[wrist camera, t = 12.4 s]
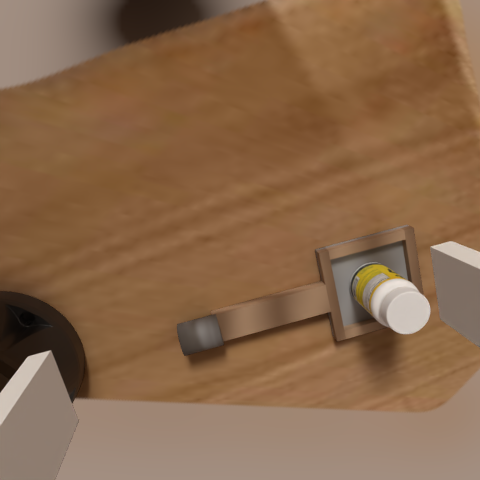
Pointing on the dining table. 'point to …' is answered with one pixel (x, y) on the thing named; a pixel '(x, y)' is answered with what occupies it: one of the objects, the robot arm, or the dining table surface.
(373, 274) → the supplement bottle
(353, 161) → the dining table surface
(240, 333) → the wooden tray with handle
